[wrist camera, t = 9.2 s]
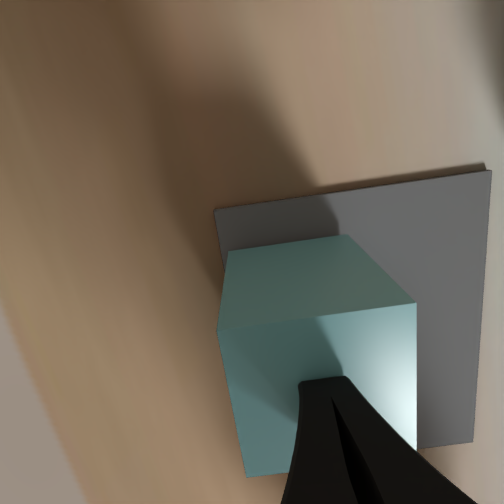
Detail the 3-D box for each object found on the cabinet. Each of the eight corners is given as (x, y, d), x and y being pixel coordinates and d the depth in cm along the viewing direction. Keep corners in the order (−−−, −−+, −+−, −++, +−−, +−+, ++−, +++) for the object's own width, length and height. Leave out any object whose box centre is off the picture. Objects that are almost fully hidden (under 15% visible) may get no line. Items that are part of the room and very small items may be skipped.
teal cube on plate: (353, 337, 17) (416, 456, 11) (246, 352, 17) (246, 477, 11) (346, 233, 15) (416, 303, 9) (228, 251, 16) (216, 330, 9)
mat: (469, 437, 20) (472, 442, 20) (259, 463, 20) (259, 468, 20) (487, 169, 15) (492, 170, 15) (214, 209, 16) (213, 210, 15)
